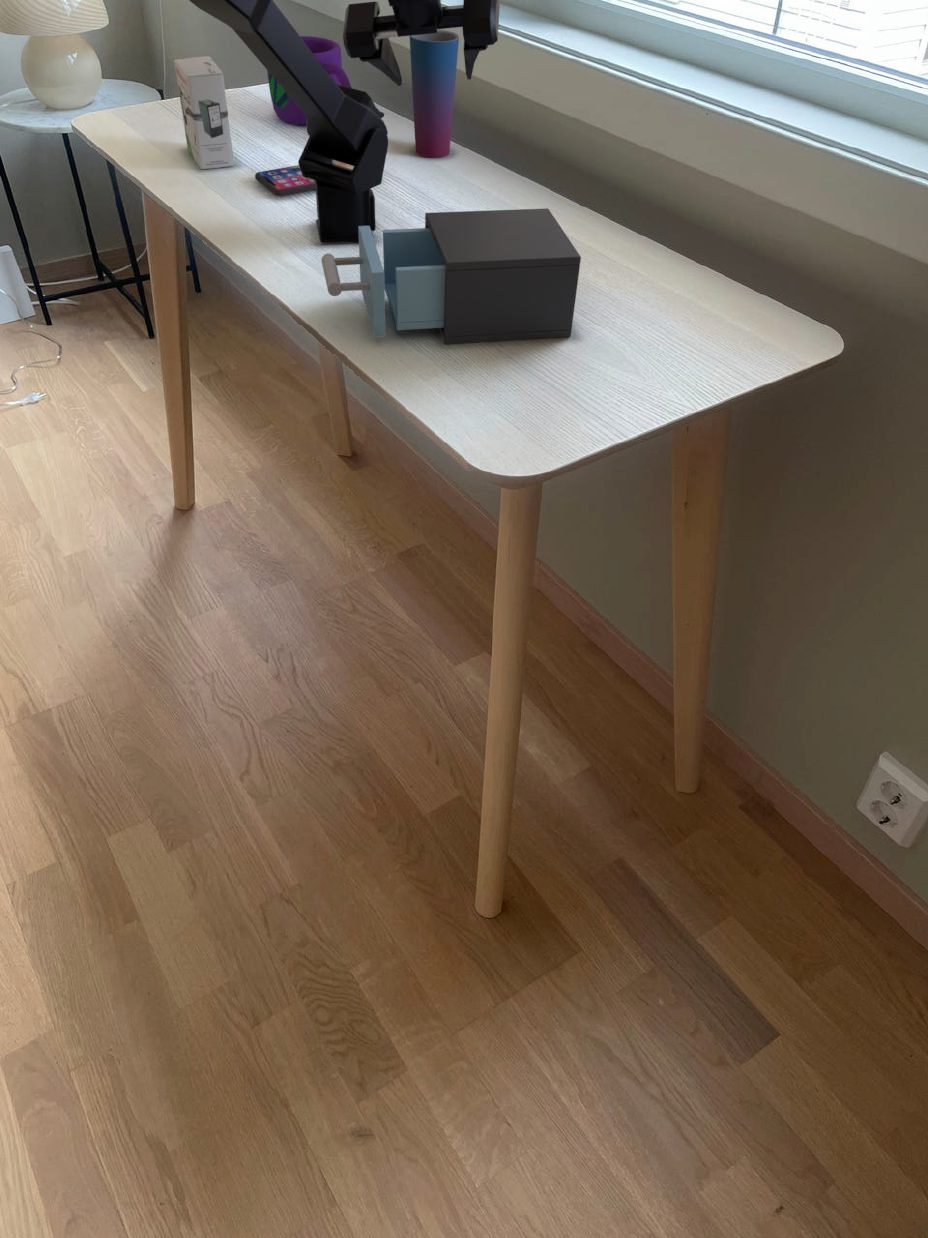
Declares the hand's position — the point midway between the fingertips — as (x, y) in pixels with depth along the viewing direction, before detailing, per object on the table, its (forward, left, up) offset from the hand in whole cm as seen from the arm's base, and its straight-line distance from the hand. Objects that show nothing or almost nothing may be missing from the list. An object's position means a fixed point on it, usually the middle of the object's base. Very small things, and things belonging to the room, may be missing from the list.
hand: (434, 79), depth 120 cm
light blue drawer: (-10, -40, -12) cm, 43 cm away
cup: (+2, +11, -13) cm, 17 cm away
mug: (-13, +26, -13) cm, 32 cm away
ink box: (-30, +11, -13) cm, 35 cm away
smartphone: (-16, +1, -13) cm, 21 cm away
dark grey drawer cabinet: (0, -40, -13) cm, 42 cm away
